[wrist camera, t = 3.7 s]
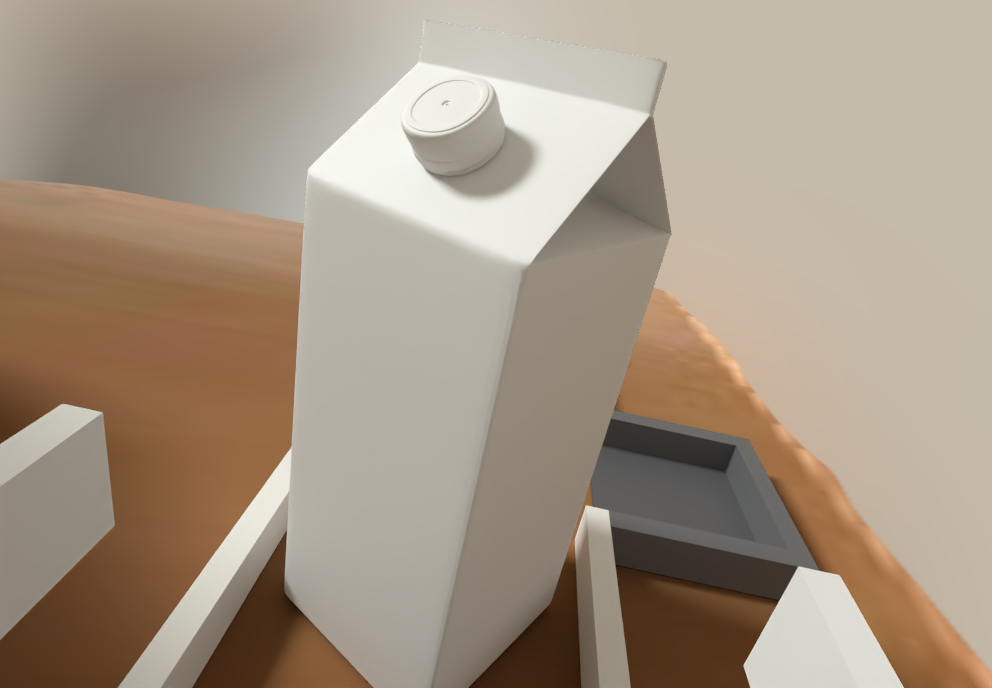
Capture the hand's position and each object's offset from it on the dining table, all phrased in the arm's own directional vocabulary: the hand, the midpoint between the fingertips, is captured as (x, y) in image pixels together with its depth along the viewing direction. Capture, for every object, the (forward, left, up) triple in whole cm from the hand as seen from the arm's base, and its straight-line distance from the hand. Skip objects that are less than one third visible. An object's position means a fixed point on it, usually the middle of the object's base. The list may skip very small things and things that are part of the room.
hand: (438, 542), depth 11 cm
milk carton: (0, +7, -10) cm, 12 cm away
